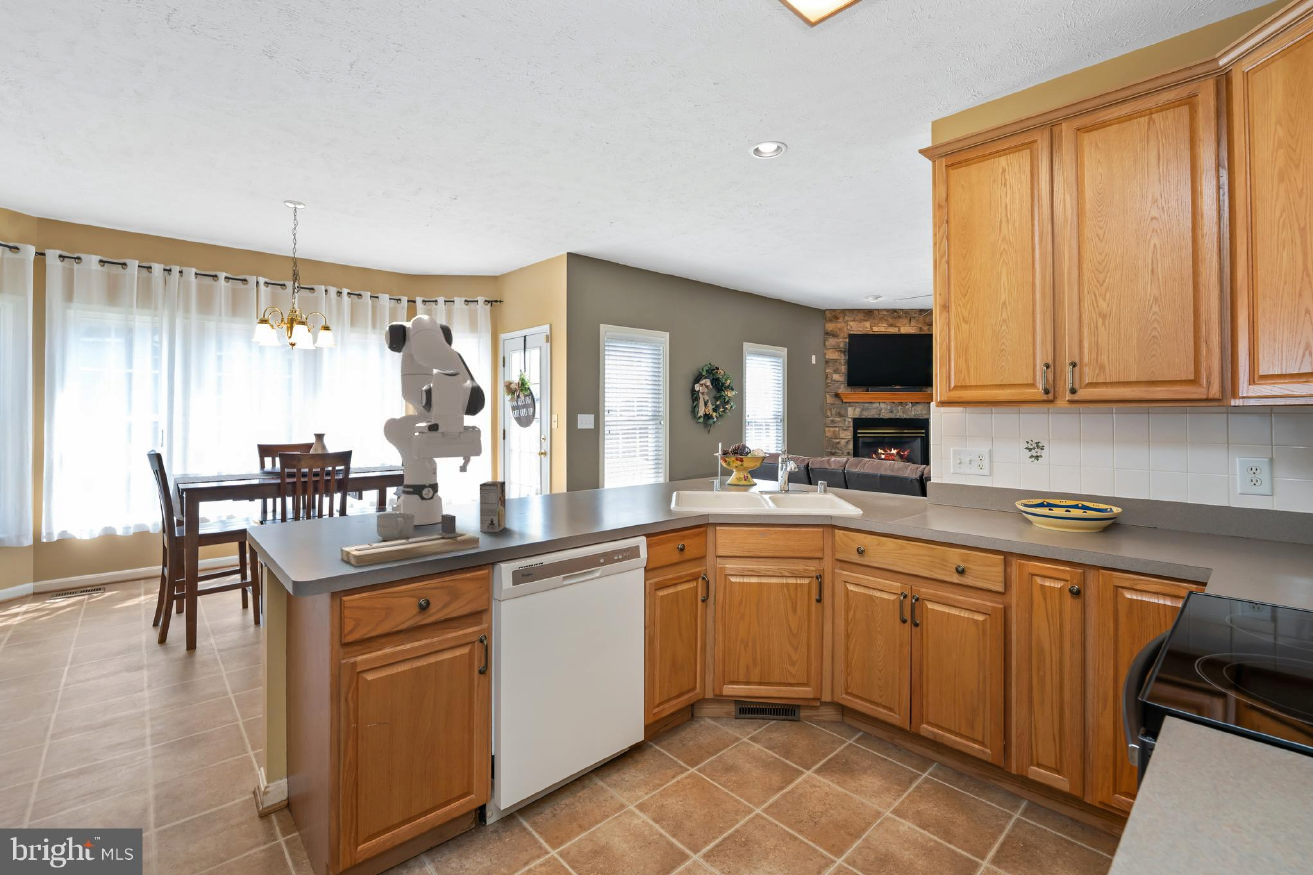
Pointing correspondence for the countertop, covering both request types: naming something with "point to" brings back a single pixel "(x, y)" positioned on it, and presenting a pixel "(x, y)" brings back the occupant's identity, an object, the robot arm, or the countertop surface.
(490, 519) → the coffee box
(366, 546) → the board
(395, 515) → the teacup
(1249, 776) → the countertop surface
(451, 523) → the fader tab
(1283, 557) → the countertop surface
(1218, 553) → the countertop surface
